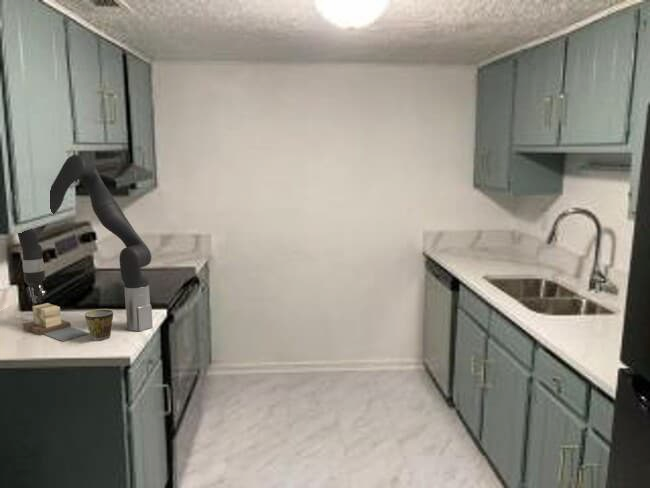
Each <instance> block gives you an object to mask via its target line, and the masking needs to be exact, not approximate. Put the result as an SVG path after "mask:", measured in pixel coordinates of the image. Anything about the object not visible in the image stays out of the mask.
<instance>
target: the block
mask: <svg viewBox="0 0 650 488" xmlns="http://www.w3.org/2000/svg"><path fill="white" fill-rule="evenodd" d="M31 308H32V316H33V321H34V323H35V324H38V325H40V326H43V327H46V328H48V327H52V326H55V325H59V324H61V320H62V315H61V307H60V306H58V305H55V304H51V303H48V302H47V303H41V305H36V306H34V305H32V307H31Z"/></svg>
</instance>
